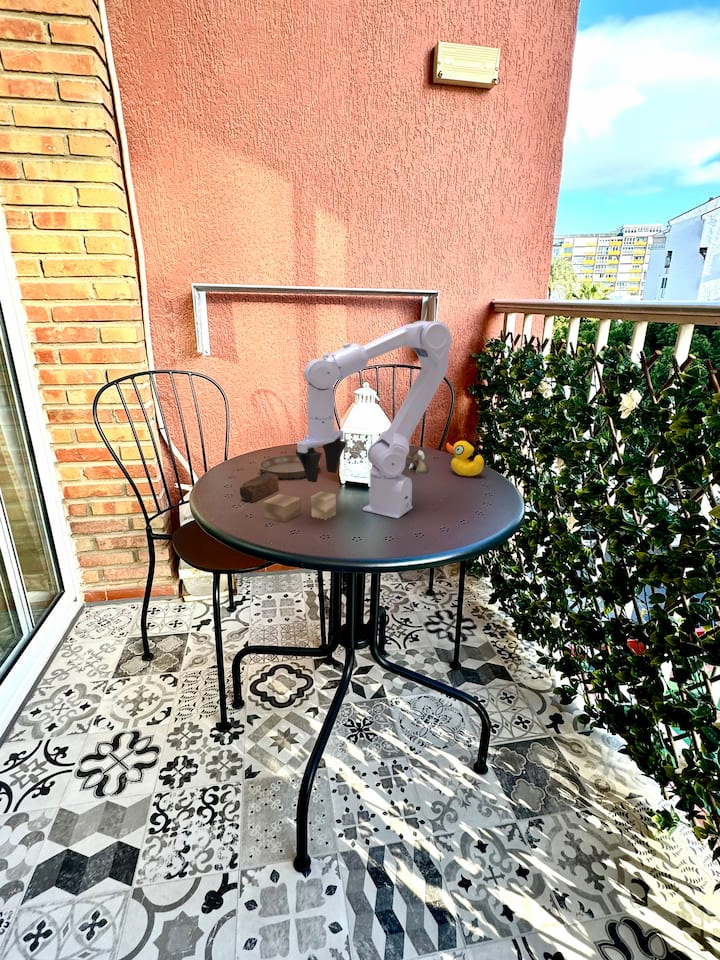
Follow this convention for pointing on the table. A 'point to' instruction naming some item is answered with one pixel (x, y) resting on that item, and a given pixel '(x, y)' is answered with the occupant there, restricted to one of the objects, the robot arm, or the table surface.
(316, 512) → the beech block
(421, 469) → the eagle figurine
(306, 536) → the table surface
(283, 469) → the plant saucer
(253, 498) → the brick
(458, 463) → the duckling
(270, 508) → the tan wooden block
